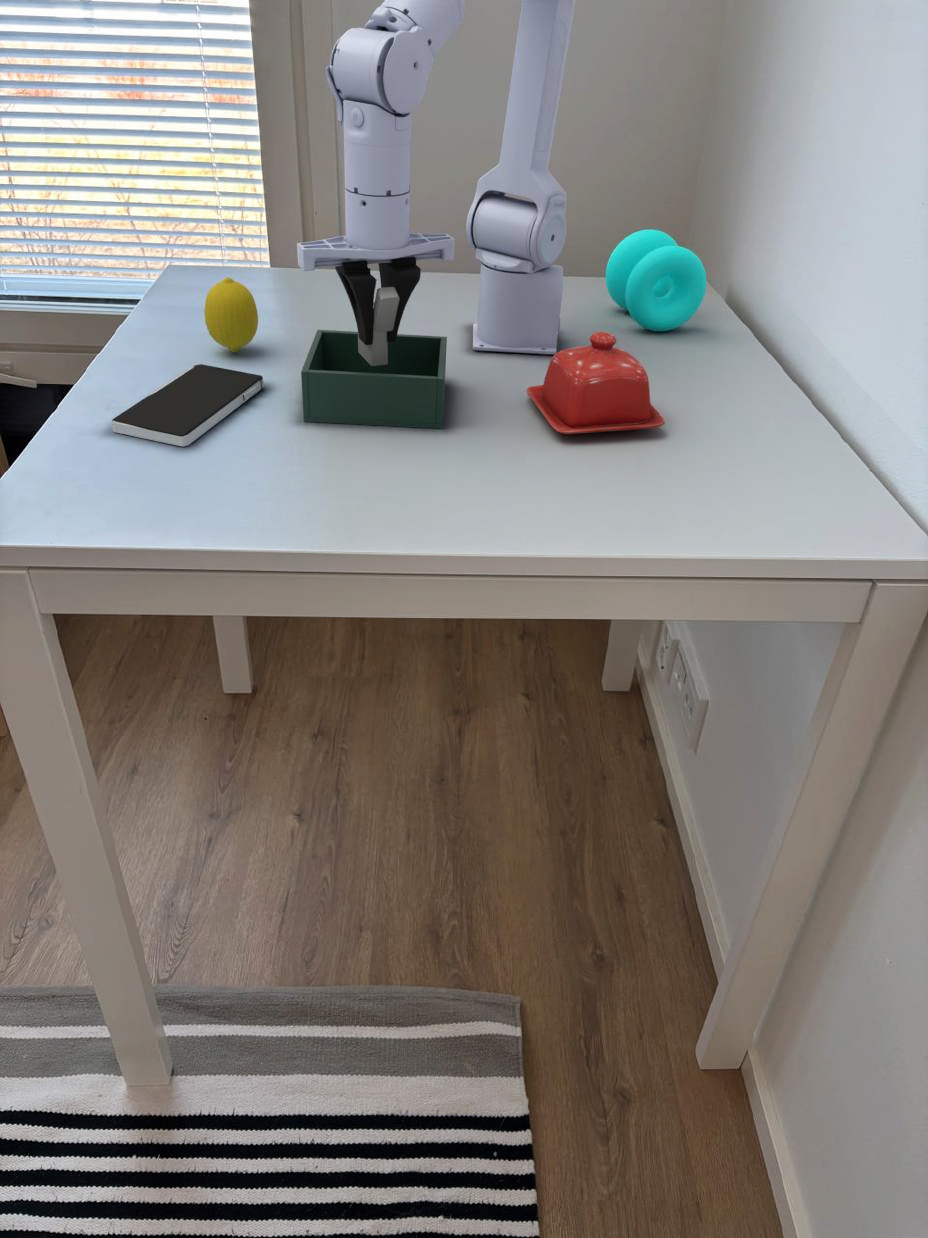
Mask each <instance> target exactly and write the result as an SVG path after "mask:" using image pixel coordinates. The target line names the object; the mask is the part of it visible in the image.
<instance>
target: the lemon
mask: <svg viewBox="0 0 928 1238" xmlns="http://www.w3.org/2000/svg"><path fill="white" fill-rule="evenodd" d="M206 294H207V295H206V298H205V300H204V301H205V302H204V309H203V310H204V312H203V313H204V321H205V325H206V326H205V327H206V329H207V331H208V334H209V336H210V337H211V338H212V340H214V342H215V343H217V344H218V345H220V346H222V347H224V348H227V349H228V350H229V351H230V352H231V353H238V352H239V351H240V350H241V348H242V347H246V346H247V345H248V344H250V343H251V342H252V341H253V339H254V338H255V336H256V334H257V331H258V325H259V315H258V308H257V305H256V301H255V298H254V296H253V294H252V293H251V291H250V290H249V289H248V287H246V286H245V285H244V284H242V283H241V282H240V281H239V282H238V281H236V280H233V278H231V277H224V279H223V280H221V281H219V282H217V283H215V284H214V285H213V286H212V287H211V288H210V289H209V290H208V292H207V293H206Z"/></svg>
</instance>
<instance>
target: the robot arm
mask: <svg viewBox="0 0 928 1238" xmlns="http://www.w3.org/2000/svg"><path fill="white" fill-rule="evenodd" d="M576 1H577V0H521V7H520V8H521V9H520V15H519V20H518V28H517V37H516V43H515V50H514V57H513V63H512V71H511V77H510V79H511V80H510V85H509V90H508V91H509V92H508V99H507V106H506V112H505V120H504V127H503V134H502V141H501V148H500V155H499V161H498V164H496V165H495V166H494V167H493V168H491V169H490V170H489V171H488V172H486V173H485V174H483V175H482V176H481V177H480V178H478V180H477V183H476V190H475V195H474V198H473V201H472V204H471V205H470V208H469V210H468V213H467V217H466V223H465V224H466V225H465V226H466V227H465V229H466V237H467V240H468V244H469V246H470V248H472V249H473V250H474V251H475V260H478V261H480V270H479V271H480V274H479V286H478V287H479V288H478V303H477V304H478V305H477V321H476V322H474V323H473V324H472V349H473V350H474V351H481V352H482V351H484V352H500V353H501V352H502V353H517V354H520V353H521V354H538V355H555V354H556V353H557V352H558V351H557V346H558V337H559V336H558V335H559V333H560V330H561V309H562V302H563V301H562V300H563V288H564V270H563V266H561V265H557V264H554V262H555V261H556V260H557V259H558V258H559V256H560V255H561V254H562V251H563V249H564V246H565V242H566V237H567V221H566V220H567V219H566V218H567V217H566V213H567V203H568V202H567V200H568V195H567V192H566V191H565V189H563V187H562V186H561V184H560V183H559V182H558V181H557V179H556V178H555V177H554V176H553V174H552V173H551V172H550V170H549V165H550V159H551V153H552V147H553V142H554V137H555V136H554V134H555V129H556V124H557V122H556V121H557V117H558V110H559V104H560V98H561V92H562V86H563V80H564V74H565V68H566V63H567V56H568V52H569V51H568V50H569V44H570V40H571V39H570V38H571V32H572V27H573V21H574V14H575V8H576ZM465 2H466V1H465V0H384V1H383V2H382V3H381V4H380V6H378V7H376V9H375V10H374V11H373V12H372V14H371V17H370V18H369V20H368V21H367V22H366V23H365V25H364V26H363V27H351V28H350V29H347V30H346V31H345V32H344V33H343V35H341V36H340V37H339V38H338V39H337V41H336V42H335V43H334V46H333V47H332V51H331V54H330V58H329V59H330V60H329V66H326V67H325V72H326V73H325V74H326V80H327V85H328V87H329V90H330V92H331V94H332V96H333V98H334V100H335V103H336V108H337V121H339V125H340V126H341V127H342V128H343V163H344V166H343V167H344V206H345V207H344V208H345V210H344V211H345V212H344V213H345V215H344V216H345V235H341V236H335V237H330V238H325V239H324V238H323V239H320V240H319V239H318V240H314V241H313V240H312V241H306V242H297V243H296V251H297V265H298V267H299V268H300V269H301V270H303V271H304V272H312V271H313V272H314V271H315V270H316V269H320V268H333V267H334V269H335V271H336V273H337V275H338V277H339V279H340V281H341V284H342V286H343V288H344V290H345V292H346V295H347V297H348V301H349V303H350V306H351V308H352V313H353V315H354V320H355V323H356V328H357V332H358V334H359V339H360V340H361V341H362V342H363V343H364V344H365V345H372V344H373V302H375V294H376V293H375V291H376V285H377V281H378V280H377V278H376V277H374V275H372V274H371V268H370V267H369V266H368V265H373V264H378V271H379V278H380V280H379V281H380V288H384V287H394V288H395V289H396V292H397V294H398V296H399V303H398V308H397V313H396V317H395V322H394V327H393V330H391V331H388V342H389V343H391V342H396V338H397V334H399V333H398V332H399V328H400V325H401V322H402V319H403V314H404V312H405V309H406V306H407V304H408V302H409V299H410V298H411V296H412V294H413V292H414V290H415V288H416V286H417V285H418V283H419V282H420V280H421V275H422V273H421V271H422V270H421V268H420V267H419V266H418V265H417V261H428V260H429V261H431V260H442V261H443V262H447V261H454V260H455V247H456V246H455V243H456V239H455V238H453V236H451V235H449V234H448V233H411V232H410V210H411V208H410V207H411V205H410V204H411V197H410V196H411V193H410V192H411V145H412V144H411V143H412V111H413V110H415V109H416V108H417V106H420V104H421V103H422V101H423V99H424V97H425V94H426V91H427V86H428V81H429V77H430V73H431V71H432V70H433V65H434V63H435V60H434V59H435V57H437V55H438V53H439V52H440V51H441V50H442V48H443V47H444V46H445V45H446V43H447V42H448V41H449V39H450V38H451V37H452V35H453V34H454V33H455V31H456V30H457V29H458V27H459V26H460V25H461V23H462V22H463V20H464V19H465V18H464V17H465V14H466V3H465ZM506 194H509V195H513V196H517V197H522V198H525V199H528V200H525V199H520V198H517V197H512V196H509V195H508V196H507V195H506ZM529 200H531V201H529Z"/></svg>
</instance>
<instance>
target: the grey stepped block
mask: <svg viewBox="0 0 928 1238" xmlns="http://www.w3.org/2000/svg"><path fill="white" fill-rule="evenodd" d="M398 303H399V296H398V294H397V292H396V289H395V288H394V287H384V288H381V287H378V288H377V289H376V293H375V297H374V301H373V344H372V345H365V344H364V343H363V342H362V341H361V340H360V339H359V334H358V352H359V353H360V354H361V355H362V357H363V358H364V359H365V360H366V361H367V362H368V363H369V364H370V365H371V366H377V365H386V364H388V331H391V330H393V327H394V322H395V317H396V313H397V308H398Z"/></svg>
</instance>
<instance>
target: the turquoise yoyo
mask: <svg viewBox="0 0 928 1238" xmlns="http://www.w3.org/2000/svg"><path fill="white" fill-rule="evenodd" d="M605 286H606V289H607V292H608V294H609V296H610V298H611V299H612V300H613V302H614V303H616V305H617V306H619V307H620V308H622V309H623V310H626V311H628V313H629V315H630V317H631V318H632V319H633V321H634V322H635V323H636V324H638V325H639V326H640V327H642V328H644V329H645V330H649V331H653V332H666V331H671V330H675V329H676V328H678V327H680V326H682V325H683V324H685V323H686V322H687V321H689V320H690V319H691V318H693V316H694V315H695V314H696V313H697V312H698V309H699V308H700V307H701V305H702V302H703V300H704V298H705V295H706V290H707V273H706V270H705V266H704V264H703V262H702V260H701V259H700V257H699V256H698V255H697V254H696V253H694V252H693V251H692V250H690V249H688V248H686V247H683V246H680V245H678V243H677V241H676V240H675V239H674V238H673V237H672V236H670V235H669V234H668V233H666V232H664V231H662V230H659V229H642V230H638V231H636V232H633V233H631V234H629V235H628V236H626V237H624V238H623V239H622V240H621V241H620V242H619V243H618V244H617V245H616V247H615V248H614V249H613V251H612V252H611V254H610V257H609V259H608V261H607V264H606V267H605Z"/></svg>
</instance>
